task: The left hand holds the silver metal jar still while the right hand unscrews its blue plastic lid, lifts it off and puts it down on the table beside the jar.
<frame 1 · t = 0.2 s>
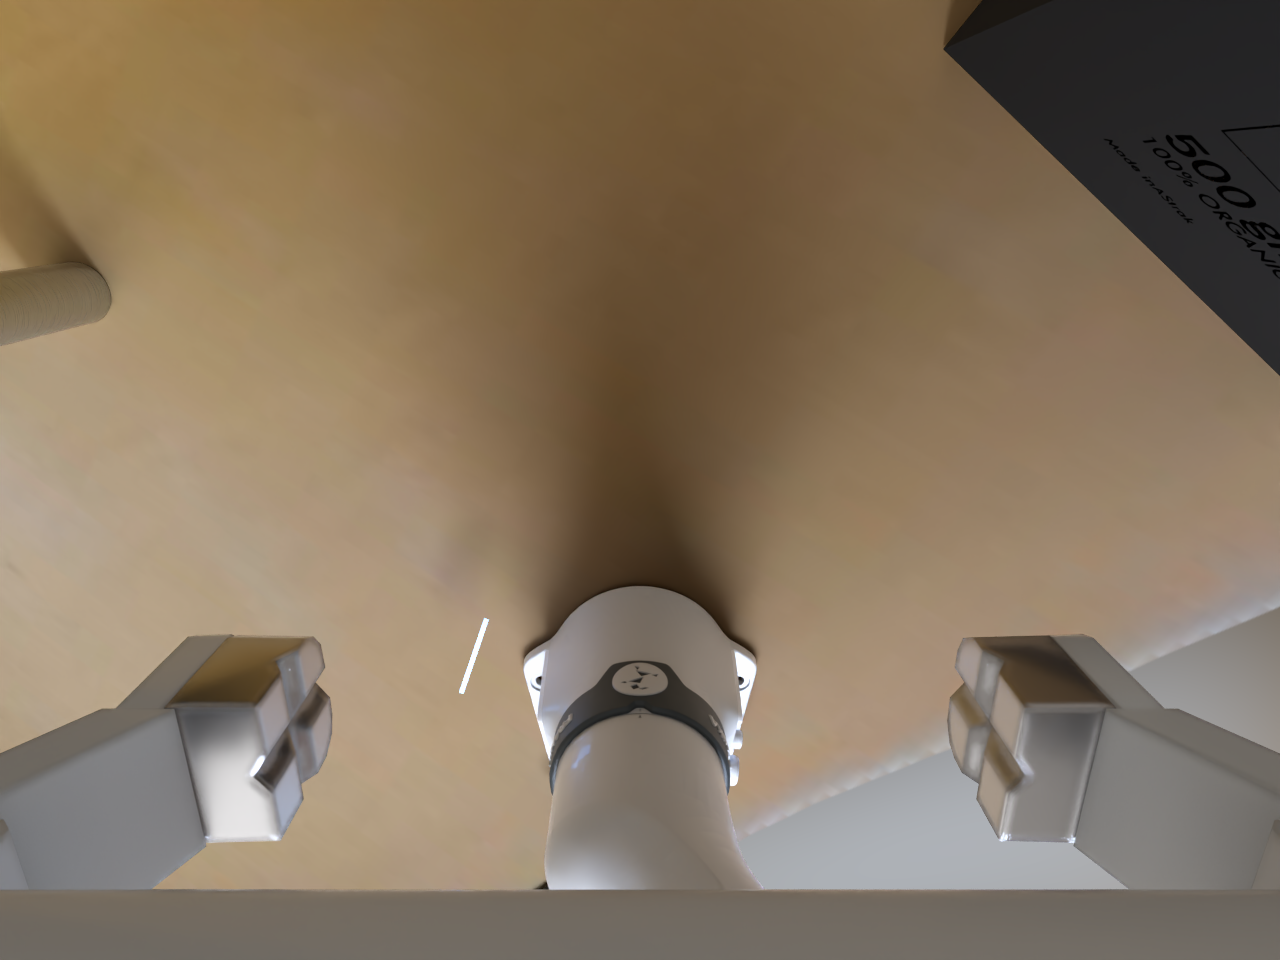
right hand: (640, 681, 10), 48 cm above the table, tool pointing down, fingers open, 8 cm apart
cardboard box: (1263, 111, 52), on the table
jar: (80, 292, 56), on the table
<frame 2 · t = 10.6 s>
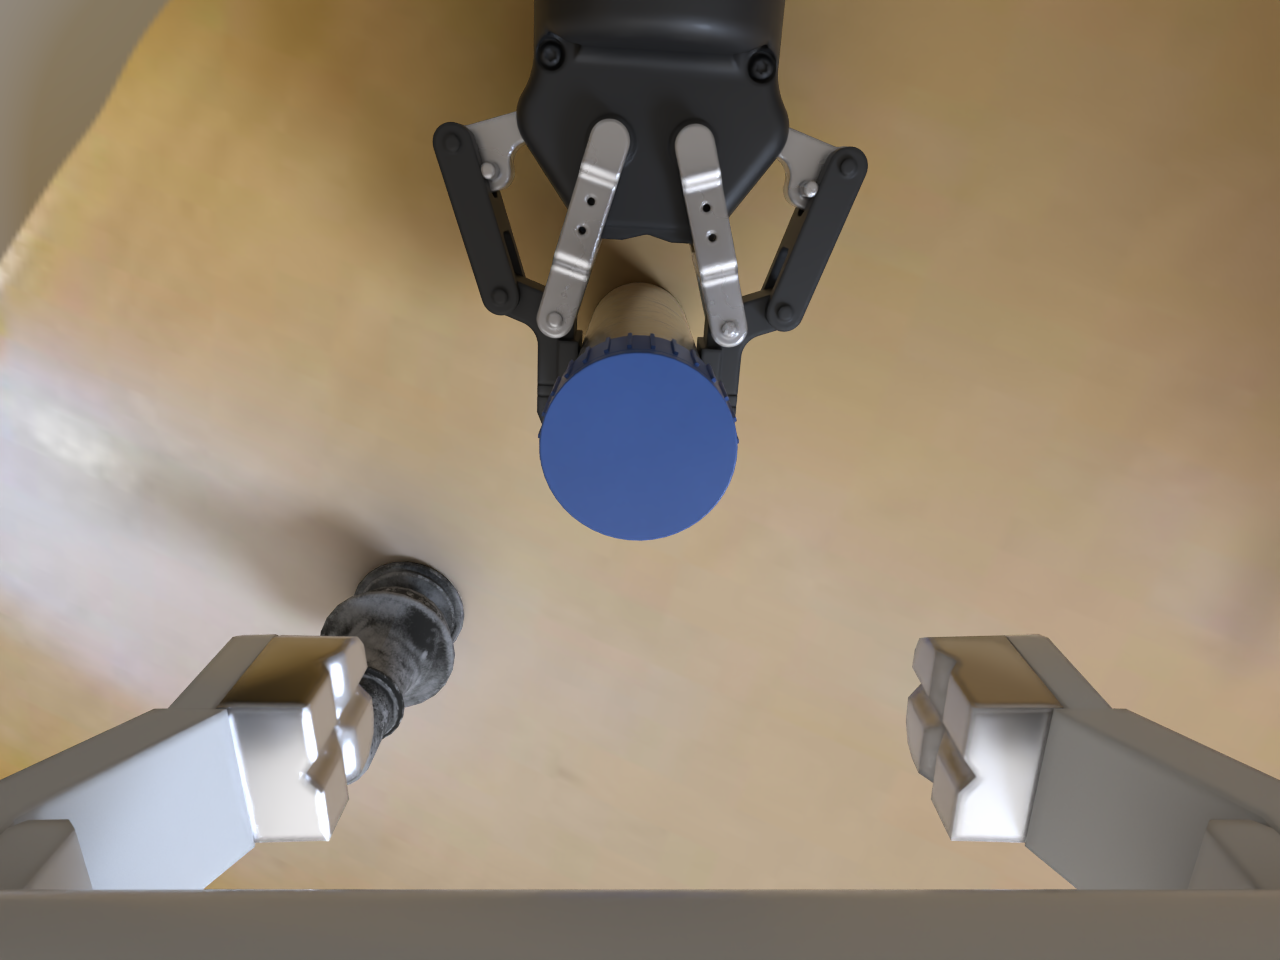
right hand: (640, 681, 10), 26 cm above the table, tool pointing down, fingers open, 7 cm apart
left hand: (635, 438, 29), fingers closed on jar, 4 cm apart
lid: (638, 446, 20), point 16 cm above the table, screwed on, not yet turned
jar: (638, 332, 34), on the table, touching left hand
grey stone tiered figure: (409, 609, 39), on the table
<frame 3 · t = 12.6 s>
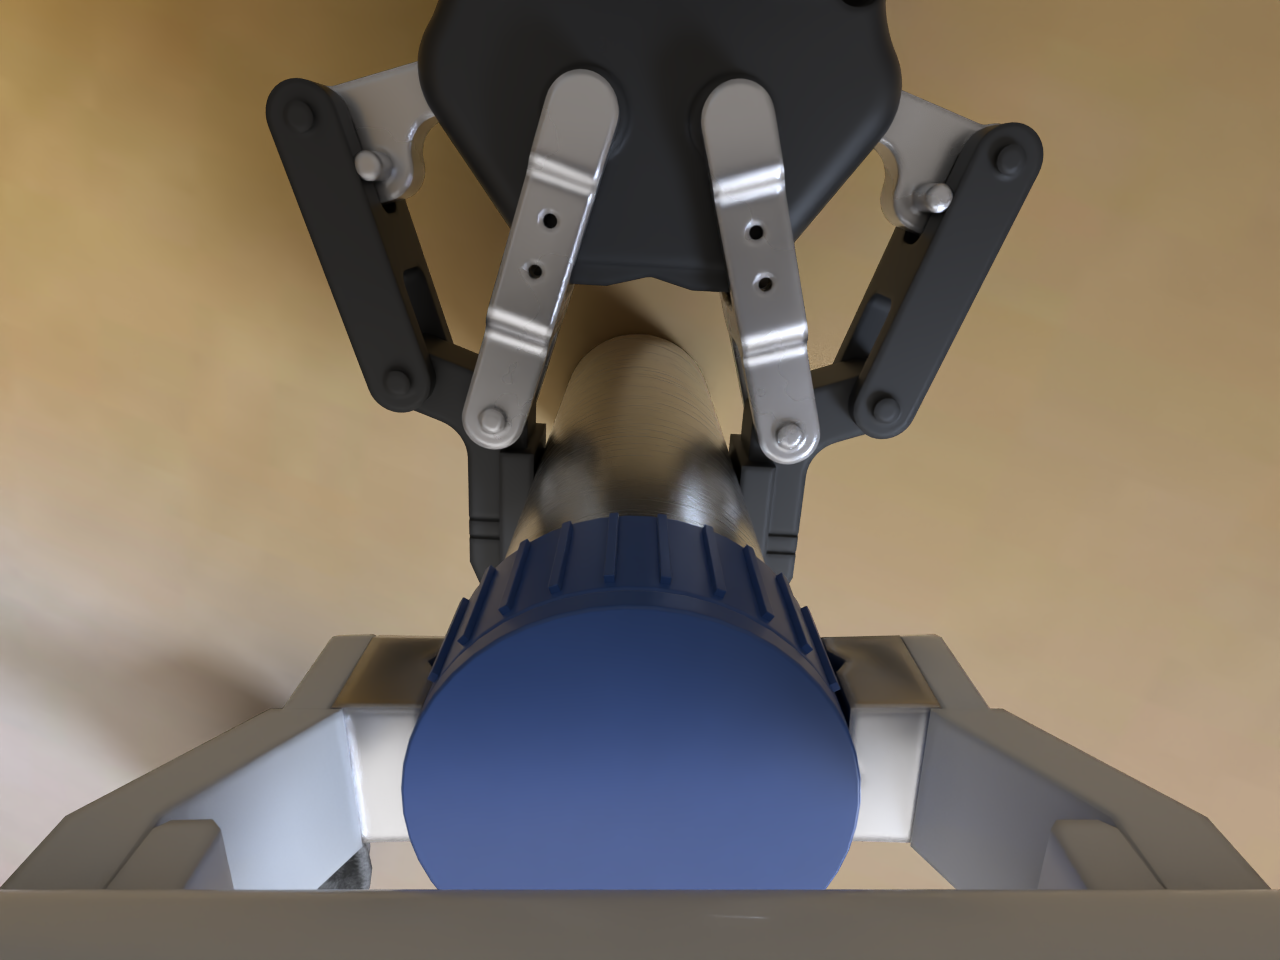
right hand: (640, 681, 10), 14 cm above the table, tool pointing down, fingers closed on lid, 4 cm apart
left hand: (631, 595, 18), fingers closed on jar, 4 cm apart
lid: (631, 785, 9), point 16 cm above the table, screwed on, not yet turned, touching right hand
jar: (637, 405, 23), on the table, touching left hand
grey stone tiered figure: (319, 779, 28), on the table
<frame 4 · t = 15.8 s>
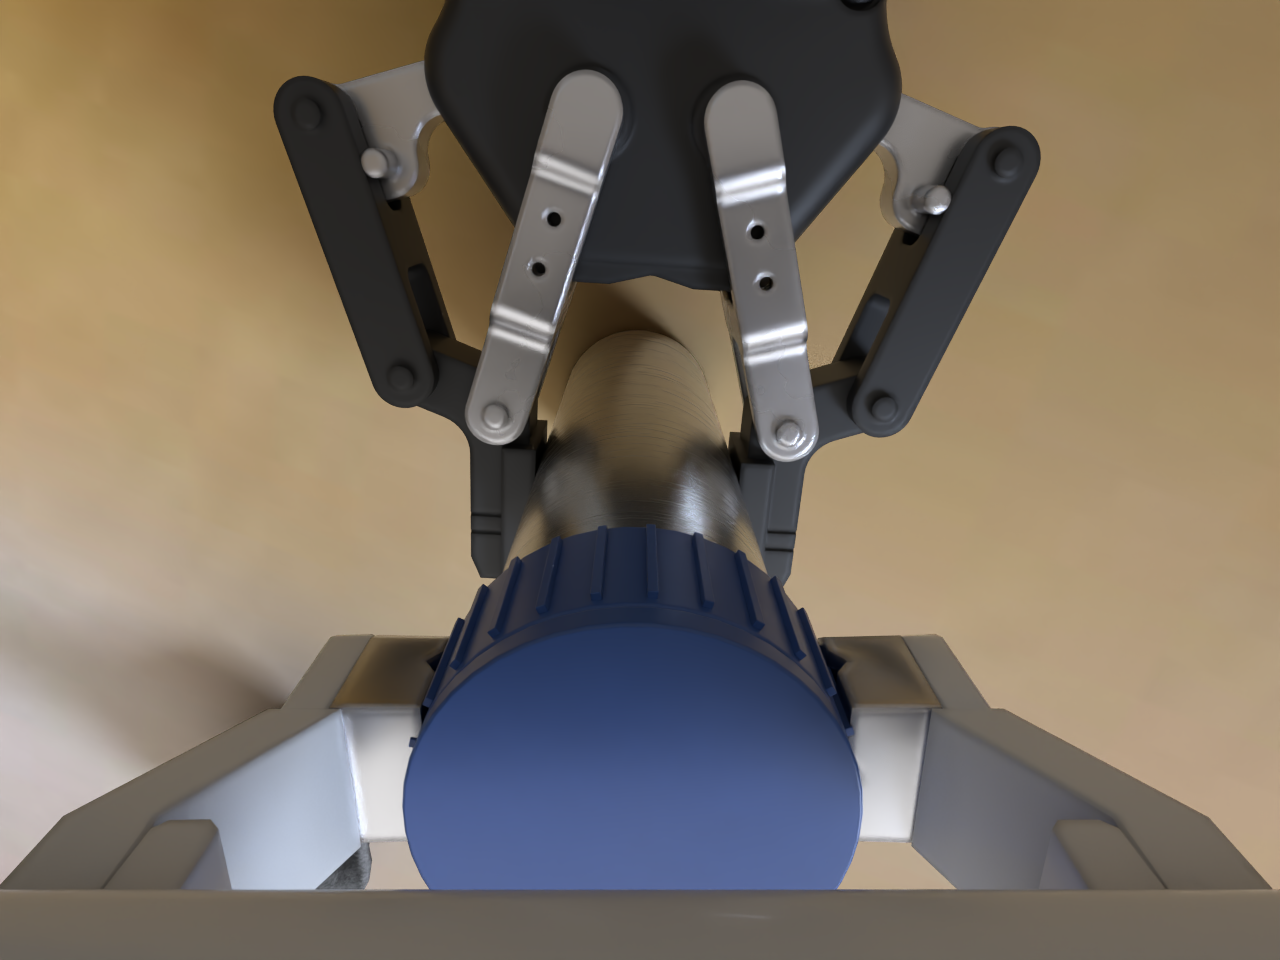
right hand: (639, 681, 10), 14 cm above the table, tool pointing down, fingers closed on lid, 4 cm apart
left hand: (630, 591, 18), fingers closed on jar, 4 cm apart
lid: (633, 799, 9), point 16 cm above the table, turned 84° so far, risen 0.2 cm, still on its thread, touching right hand
jar: (637, 400, 24), on the table, touching left hand
grey stone tiered figure: (319, 772, 28), on the table
when the right hand's fingers open (2 cm above the table, at t = 22.3 s): lid drops 2 cm, point 2 cm above the table.
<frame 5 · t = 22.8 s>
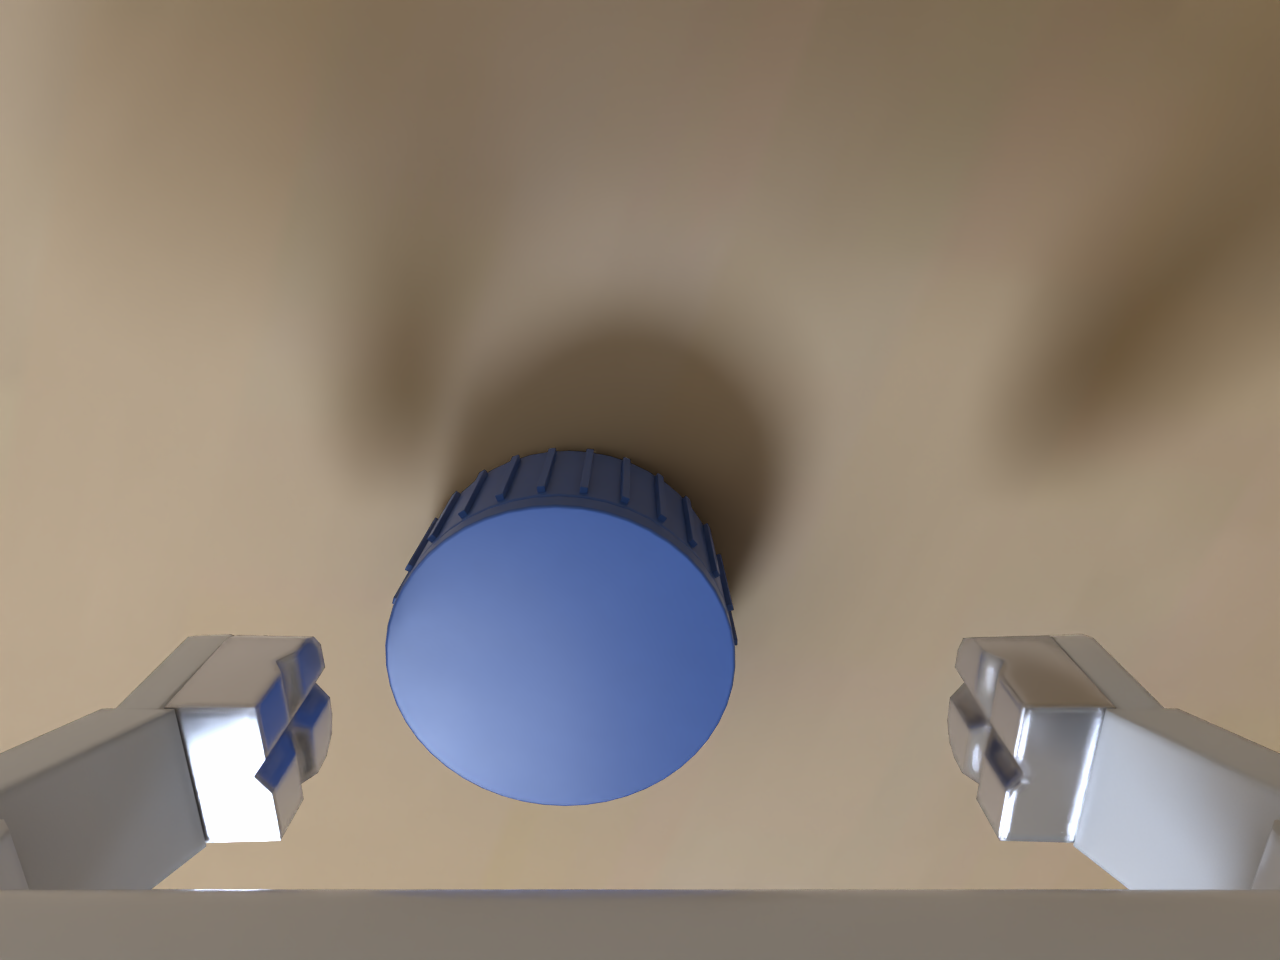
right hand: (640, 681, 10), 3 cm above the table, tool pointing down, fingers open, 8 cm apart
lid: (562, 653, 11), point 2 cm above the table, off its thread
when the left hand's fingers open (7 cm above the table, at t = 23.3 s): jar stays where it is, on the table.
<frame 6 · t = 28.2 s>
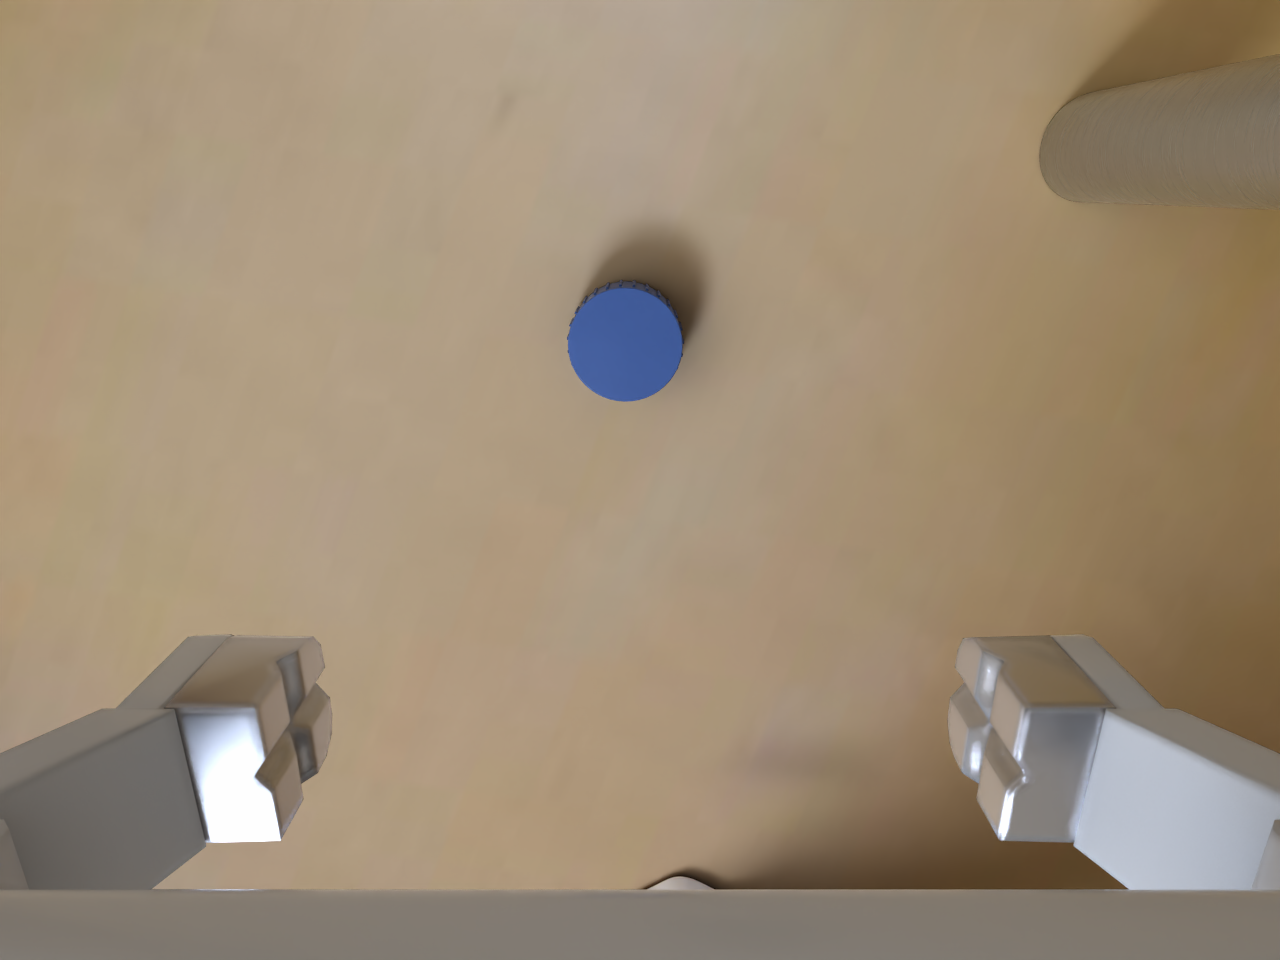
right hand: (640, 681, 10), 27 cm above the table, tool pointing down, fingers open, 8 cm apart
lid: (625, 344, 34), point 2 cm above the table, off its thread
jar: (1090, 148, 33), on the table
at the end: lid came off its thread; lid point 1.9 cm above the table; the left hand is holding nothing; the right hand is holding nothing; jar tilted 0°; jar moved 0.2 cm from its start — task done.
